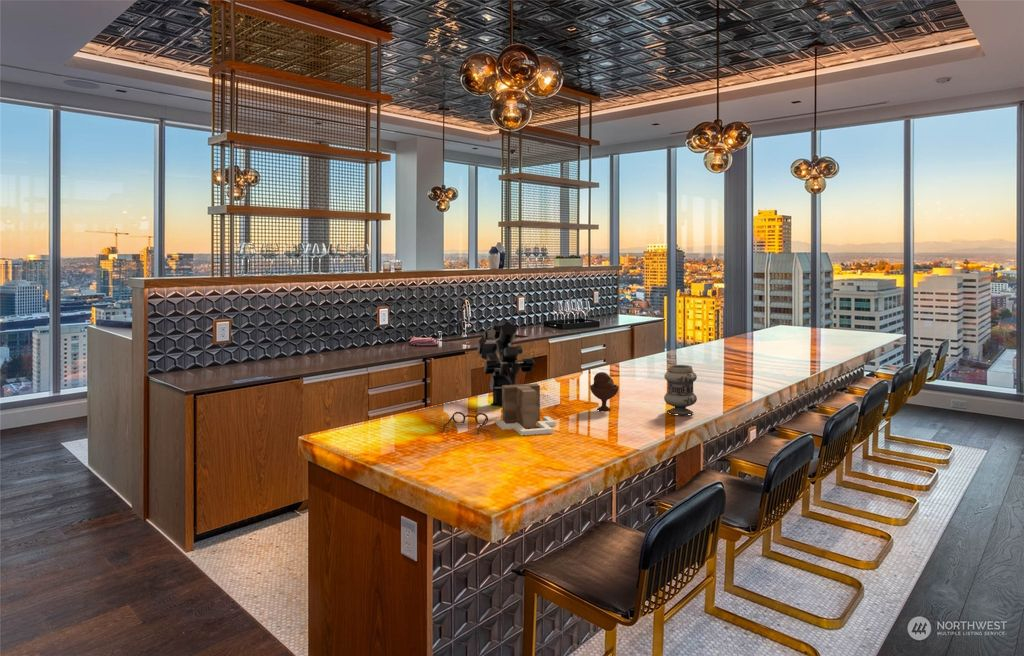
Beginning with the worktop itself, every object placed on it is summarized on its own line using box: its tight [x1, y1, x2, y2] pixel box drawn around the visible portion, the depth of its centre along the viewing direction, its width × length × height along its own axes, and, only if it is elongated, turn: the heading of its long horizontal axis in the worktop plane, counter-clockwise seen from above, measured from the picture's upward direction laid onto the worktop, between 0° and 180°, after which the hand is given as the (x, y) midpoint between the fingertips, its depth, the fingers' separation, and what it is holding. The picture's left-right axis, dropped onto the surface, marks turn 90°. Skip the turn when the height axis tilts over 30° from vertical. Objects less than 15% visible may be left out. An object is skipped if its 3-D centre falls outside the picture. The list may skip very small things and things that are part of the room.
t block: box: [501, 383, 541, 429], centre depth 231 cm, size 13×13×13 cm
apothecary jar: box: [663, 364, 698, 415], centre depth 245 cm, size 12×12×18 cm
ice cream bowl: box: [589, 371, 620, 412], centre depth 251 cm, size 11×11×15 cm
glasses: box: [441, 411, 489, 435], centre depth 225 cm, size 13×13×5 cm
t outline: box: [495, 415, 557, 437], centre depth 226 cm, size 17×19×2 cm
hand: (513, 384), depth 244 cm, fingers closed
